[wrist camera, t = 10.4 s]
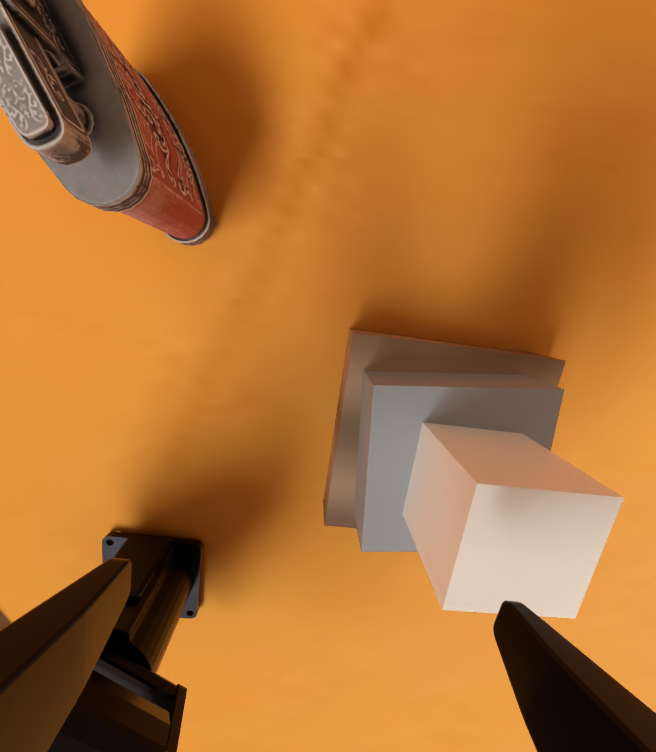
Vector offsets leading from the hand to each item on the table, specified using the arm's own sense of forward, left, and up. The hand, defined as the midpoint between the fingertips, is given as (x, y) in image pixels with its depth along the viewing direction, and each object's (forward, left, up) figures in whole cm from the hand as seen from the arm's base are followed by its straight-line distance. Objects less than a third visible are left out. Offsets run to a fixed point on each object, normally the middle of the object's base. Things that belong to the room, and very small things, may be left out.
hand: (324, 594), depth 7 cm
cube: (-1, -7, -8) cm, 10 cm away
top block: (-1, -7, -11) cm, 13 cm away
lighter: (+12, +10, -13) cm, 20 cm away
